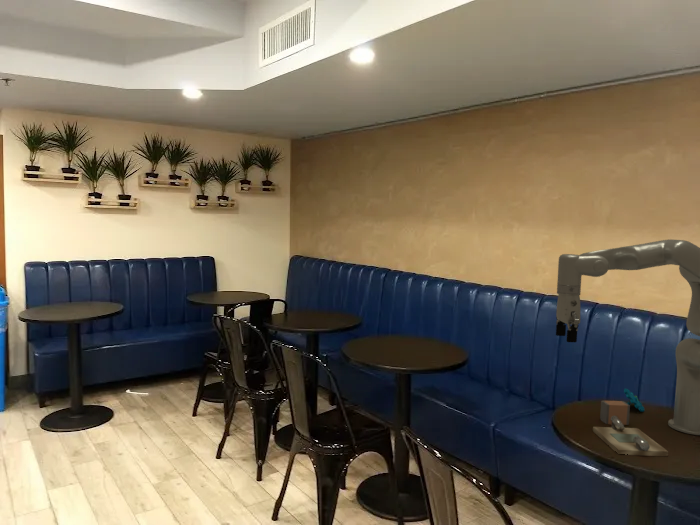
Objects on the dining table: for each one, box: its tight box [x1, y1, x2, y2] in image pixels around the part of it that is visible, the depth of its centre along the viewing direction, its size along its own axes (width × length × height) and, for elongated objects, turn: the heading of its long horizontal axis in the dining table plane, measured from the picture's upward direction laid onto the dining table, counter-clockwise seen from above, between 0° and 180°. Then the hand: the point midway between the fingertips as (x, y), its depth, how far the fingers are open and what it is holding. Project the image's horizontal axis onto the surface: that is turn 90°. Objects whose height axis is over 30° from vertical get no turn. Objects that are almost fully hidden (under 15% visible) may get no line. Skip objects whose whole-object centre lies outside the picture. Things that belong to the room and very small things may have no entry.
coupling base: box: [592, 422, 669, 457], centre depth 169 cm, size 15×18×3 cm
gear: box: [623, 388, 646, 413], centre depth 201 cm, size 11×6×10 cm
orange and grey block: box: [599, 400, 631, 426], centre depth 186 cm, size 8×4×7 cm, turn 88°
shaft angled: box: [611, 416, 626, 431], centre depth 176 cm, size 2×5×4 cm, turn 178°
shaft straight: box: [633, 436, 650, 451], centre depth 161 cm, size 2×5×2 cm, turn 178°
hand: (565, 338), depth 181 cm, fingers open, 9 cm apart
